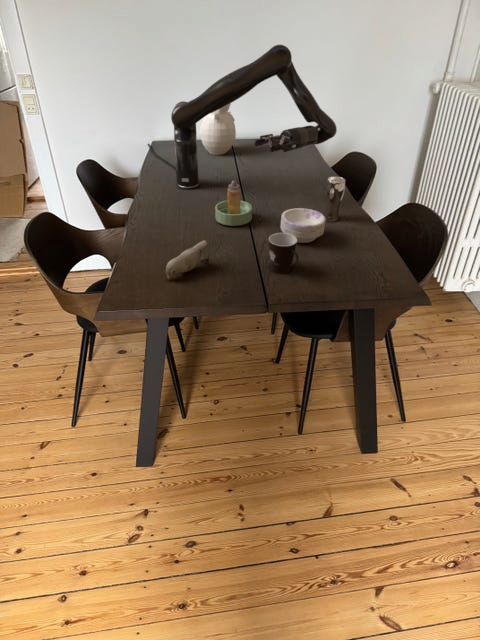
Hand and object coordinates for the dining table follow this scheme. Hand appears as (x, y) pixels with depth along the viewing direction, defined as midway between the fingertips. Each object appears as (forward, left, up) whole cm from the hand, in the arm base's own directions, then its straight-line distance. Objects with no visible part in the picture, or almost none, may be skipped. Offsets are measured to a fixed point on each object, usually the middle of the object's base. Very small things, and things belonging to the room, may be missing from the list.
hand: (262, 146), depth 156 cm
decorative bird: (+22, -49, -24) cm, 59 cm away
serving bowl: (+2, -15, -24) cm, 28 cm away
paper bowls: (+28, -5, -24) cm, 37 cm away
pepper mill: (+2, -15, -23) cm, 28 cm away
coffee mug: (+40, -26, -24) cm, 53 cm away
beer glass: (+24, +15, -24) cm, 37 cm away
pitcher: (-68, +30, -24) cm, 79 cm away
